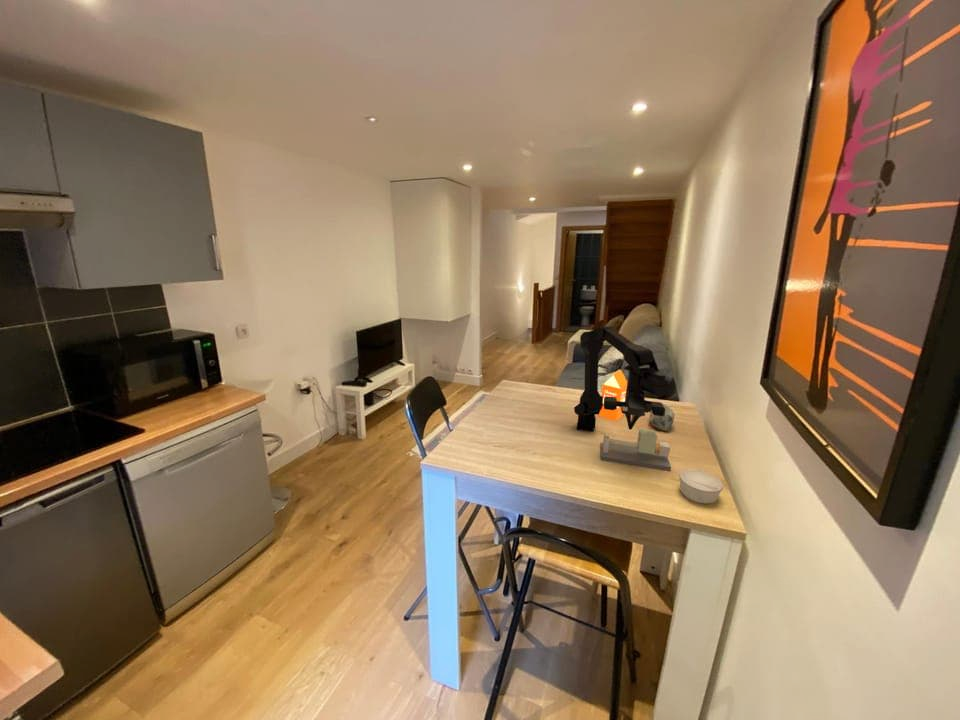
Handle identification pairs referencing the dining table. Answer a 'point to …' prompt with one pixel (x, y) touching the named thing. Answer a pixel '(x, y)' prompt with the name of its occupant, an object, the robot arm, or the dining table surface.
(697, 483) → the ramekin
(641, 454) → the cord board
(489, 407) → the dining table surface
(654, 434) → the matte sage green cube
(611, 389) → the orange juice
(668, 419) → the grey rounded oval lump
